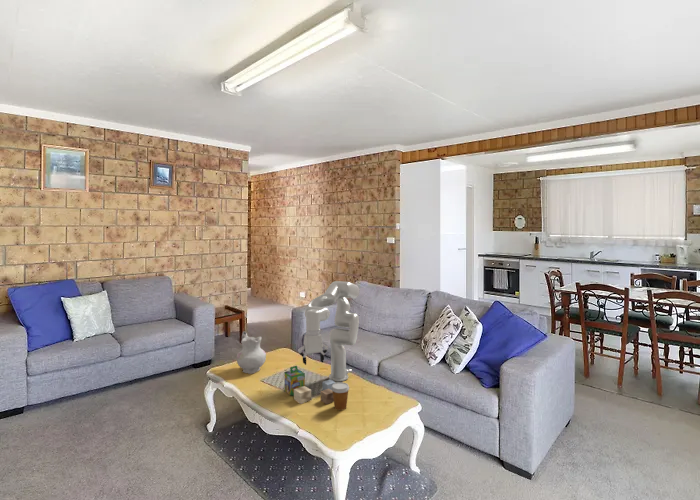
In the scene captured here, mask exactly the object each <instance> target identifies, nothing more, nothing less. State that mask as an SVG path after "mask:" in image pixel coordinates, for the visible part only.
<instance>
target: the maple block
mask: <svg viewBox="0 0 700 500" xmlns="http://www.w3.org/2000/svg"><path fill="white" fill-rule="evenodd" d="M293 400H294V401H295V402H297V403H299V404H300V405H301V404H305V403H307V401H308V402H310V400H311V401H312V389H311V388H309V387H307V386H306V385H305V386H303V387H299V388H296V389H294V395H293ZM304 402H305V403H304Z"/></svg>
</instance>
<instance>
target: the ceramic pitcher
mask: <svg viewBox="0 0 700 500" xmlns="http://www.w3.org/2000/svg"><path fill="white" fill-rule="evenodd" d="M262 338H263V337H262V336H257V337H255V336H248V333H247V331H242V333H241V341H240V343H241V346H242V349H241V350H240V351H239V352H237V354H236V364H238V367H240V368H241V369H242V370H243V371H242V372H243V373H245V374H247V373H248V374H247V375H252V374H255V373H257V372H259V371H260V370H261V367H263V365H264V364H265V362H266V358H267V353H266V351H265V350H264V349H263V348H261V343H262Z"/></svg>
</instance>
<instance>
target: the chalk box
mask: <svg viewBox="0 0 700 500" xmlns="http://www.w3.org/2000/svg"><path fill="white" fill-rule="evenodd" d="M289 368H290V369H289V370H287V371H285V372H284V392H285V393H287V394H288V395H290V397H294V389H296V388H299V387H303V386H306V373H305V372H303V371H302V370H300V369H298V368H299V367H298V366H297V365H293V366H290V367H289Z"/></svg>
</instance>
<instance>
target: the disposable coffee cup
mask: <svg viewBox="0 0 700 500" xmlns="http://www.w3.org/2000/svg"><path fill="white" fill-rule="evenodd" d="M331 389H332V391H333V399H334V402H333V405H334V406H333V407H334V409H335V410H337V411H345V410H346V409H347V406H348V396H349V390H350V386H349V384H348V383H347V382H344V381H337V382H335V383H334V384H333V385H332V388H331Z"/></svg>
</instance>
